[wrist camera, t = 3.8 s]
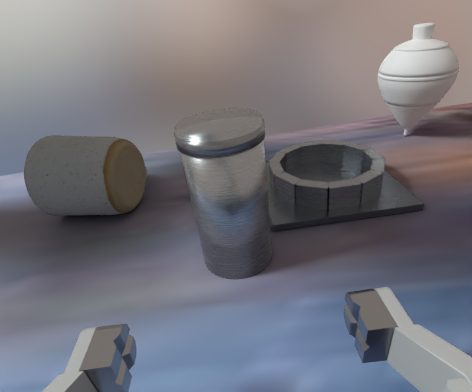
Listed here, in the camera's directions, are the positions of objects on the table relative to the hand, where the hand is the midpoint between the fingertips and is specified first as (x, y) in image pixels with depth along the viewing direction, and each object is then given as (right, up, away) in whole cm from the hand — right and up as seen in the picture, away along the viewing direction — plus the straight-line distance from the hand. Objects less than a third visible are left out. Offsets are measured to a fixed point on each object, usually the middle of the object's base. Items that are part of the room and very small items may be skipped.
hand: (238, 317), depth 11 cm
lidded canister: (0, 0, +11) cm, 11 cm away
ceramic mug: (-13, +4, +21) cm, 25 cm away
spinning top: (+21, +12, +26) cm, 35 cm away
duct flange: (+8, +6, +18) cm, 21 cm away
